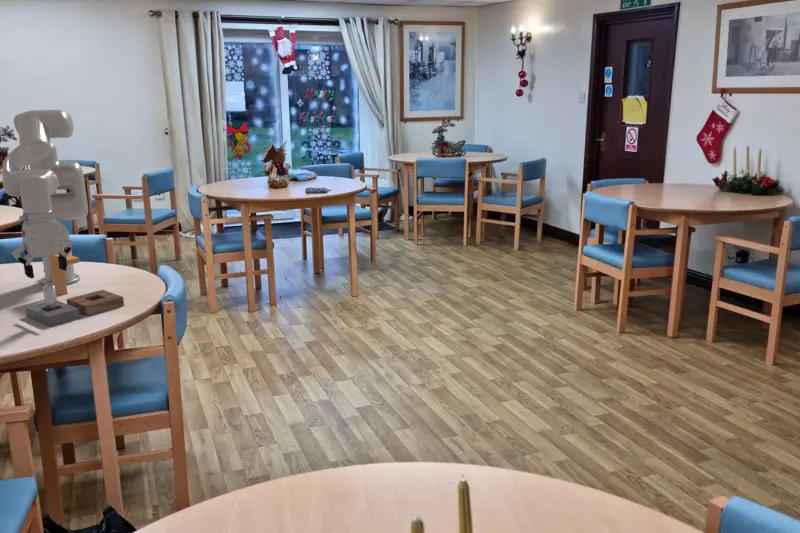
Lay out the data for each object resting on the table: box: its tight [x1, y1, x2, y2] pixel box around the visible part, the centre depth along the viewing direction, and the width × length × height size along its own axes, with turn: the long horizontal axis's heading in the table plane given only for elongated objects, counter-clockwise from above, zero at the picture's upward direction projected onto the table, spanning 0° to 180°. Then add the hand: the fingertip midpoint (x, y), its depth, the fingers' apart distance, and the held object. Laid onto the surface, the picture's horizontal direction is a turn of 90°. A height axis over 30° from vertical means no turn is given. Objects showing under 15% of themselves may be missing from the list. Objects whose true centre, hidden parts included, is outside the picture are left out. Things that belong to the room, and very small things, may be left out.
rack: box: [25, 300, 81, 328], centre depth 205 cm, size 14×9×4 cm, turn 53°
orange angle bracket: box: [49, 254, 81, 298], centre depth 222 cm, size 14×4×15 cm, turn 53°
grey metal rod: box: [42, 284, 58, 312], centre depth 204 cm, size 3×3×10 cm
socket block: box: [66, 289, 125, 317], centre depth 214 cm, size 12×12×4 cm
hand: (47, 273), depth 202 cm, fingers open, 9 cm apart
